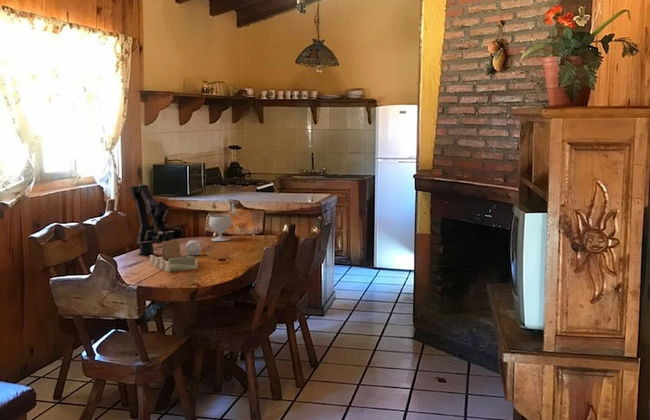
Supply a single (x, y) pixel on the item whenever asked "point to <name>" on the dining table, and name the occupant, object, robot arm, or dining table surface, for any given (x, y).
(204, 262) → the dining table surface
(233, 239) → the dining table surface
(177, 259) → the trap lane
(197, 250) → the die
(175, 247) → the walnut block
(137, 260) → the dining table surface
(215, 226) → the chalice
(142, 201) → the robot arm
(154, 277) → the dining table surface
